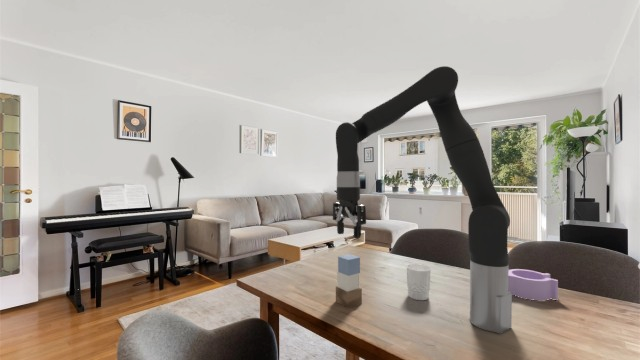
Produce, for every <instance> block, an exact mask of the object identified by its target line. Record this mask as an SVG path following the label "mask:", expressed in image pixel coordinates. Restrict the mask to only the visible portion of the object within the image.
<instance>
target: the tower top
mask: <svg viewBox="0 0 640 360" xmlns="http://www.w3.org/2000/svg"><path fill="white" fill-rule="evenodd" d="M336 274H337V279H336V280H337V287H339V288H341V289H343V290H345V291H347V292H349V291H352V290H355V289H359V287H360V273H357V274H354V275H350V276H347V275H345V274H343V273H340V272H338V271H337V272H336Z"/></svg>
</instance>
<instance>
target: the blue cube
mask: <svg viewBox="0 0 640 360" xmlns="http://www.w3.org/2000/svg"><path fill="white" fill-rule="evenodd" d="M337 272H340V273H343V274H345V275H347V276H350V275H354V274H357V273H359V274H361V257H360V256H357V255H354V254H349V253H348V254H344V255H339V256H337Z"/></svg>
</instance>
